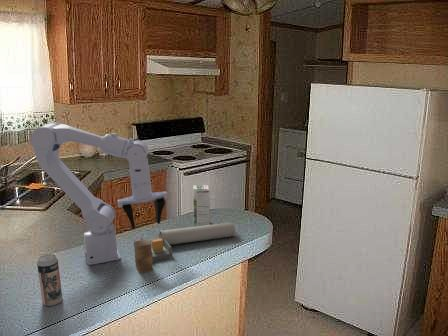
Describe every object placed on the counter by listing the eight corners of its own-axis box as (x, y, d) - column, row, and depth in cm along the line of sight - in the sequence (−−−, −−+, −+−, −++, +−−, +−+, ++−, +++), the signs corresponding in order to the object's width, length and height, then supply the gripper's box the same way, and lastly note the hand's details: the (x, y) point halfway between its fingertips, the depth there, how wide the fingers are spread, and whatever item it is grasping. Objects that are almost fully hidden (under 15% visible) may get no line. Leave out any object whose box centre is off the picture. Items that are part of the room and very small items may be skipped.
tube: (231, 220, 146) (159, 229, 139) (236, 221, 141) (161, 230, 134) (233, 236, 146) (160, 246, 139) (237, 237, 141) (163, 247, 133)
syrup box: (193, 222, 156) (192, 184, 153) (209, 221, 157) (208, 184, 153) (194, 228, 151) (192, 189, 147) (210, 227, 151) (209, 188, 148)
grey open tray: (172, 257, 129) (172, 246, 128) (150, 262, 126) (149, 251, 125) (161, 242, 139) (161, 232, 139) (140, 246, 137) (140, 236, 136)
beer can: (47, 309, 103) (41, 264, 100) (38, 302, 106) (32, 258, 103) (66, 301, 106) (61, 257, 103) (57, 294, 109) (51, 251, 106)
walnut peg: (138, 273, 120) (137, 247, 118) (135, 267, 123) (133, 241, 121) (152, 270, 121) (151, 244, 119) (149, 264, 125) (147, 239, 123)
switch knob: (163, 248, 130) (162, 240, 130) (153, 250, 129) (152, 242, 128) (161, 247, 132) (161, 238, 131) (152, 248, 131) (151, 240, 130)
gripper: (118, 189, 119) (123, 234, 122) (168, 181, 124) (172, 224, 127) (114, 183, 125) (120, 226, 128) (162, 175, 130) (166, 217, 134)
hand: (145, 225), depth 128 cm, fingers open, 7 cm apart
